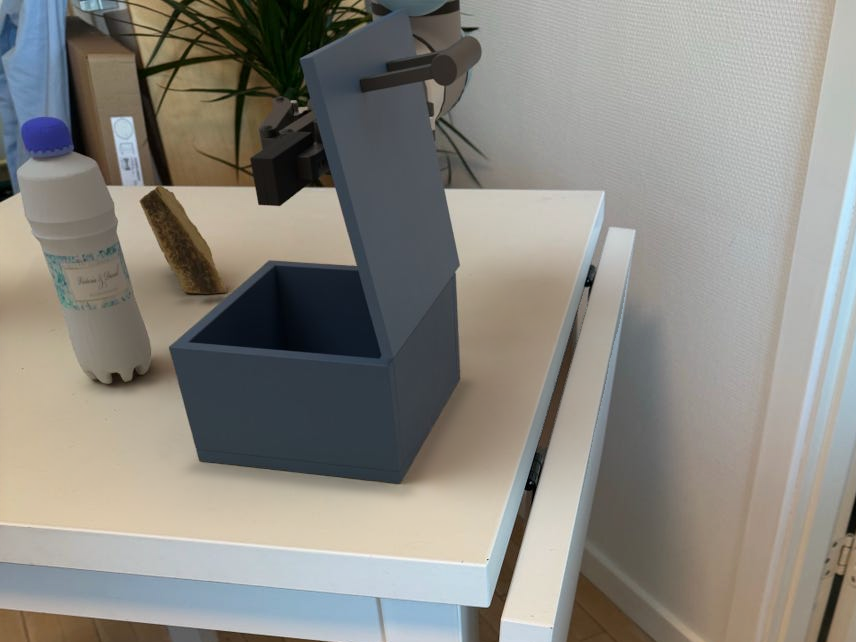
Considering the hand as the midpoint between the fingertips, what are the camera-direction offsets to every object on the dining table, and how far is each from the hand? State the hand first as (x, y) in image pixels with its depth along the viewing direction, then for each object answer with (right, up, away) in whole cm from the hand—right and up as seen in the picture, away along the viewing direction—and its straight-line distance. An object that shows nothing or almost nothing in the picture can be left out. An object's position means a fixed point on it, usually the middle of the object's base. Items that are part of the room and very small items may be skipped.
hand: (265, 182), depth 56 cm
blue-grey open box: (+2, -10, +17) cm, 20 cm away
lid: (+7, +2, +4) cm, 8 cm away
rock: (-17, +10, +41) cm, 45 cm away
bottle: (-19, -5, +24) cm, 31 cm away
